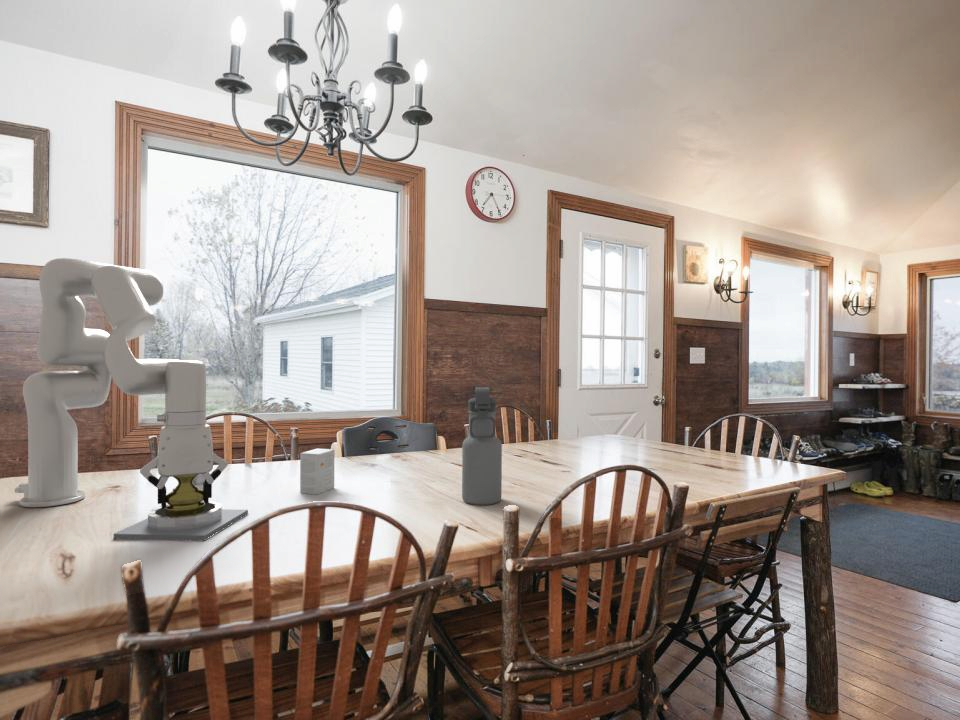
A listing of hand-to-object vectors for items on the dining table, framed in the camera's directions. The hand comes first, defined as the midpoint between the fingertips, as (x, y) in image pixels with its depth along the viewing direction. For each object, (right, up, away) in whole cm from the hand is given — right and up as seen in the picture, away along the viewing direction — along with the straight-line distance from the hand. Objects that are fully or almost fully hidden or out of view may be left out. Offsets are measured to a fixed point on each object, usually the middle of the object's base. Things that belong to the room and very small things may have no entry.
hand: (185, 503), depth 116 cm
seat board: (0, -5, 0) cm, 5 cm away
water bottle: (+62, -5, +21) cm, 66 cm away
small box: (+19, -5, +31) cm, 37 cm away
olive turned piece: (0, -3, 0) cm, 3 cm away
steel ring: (0, -5, 0) cm, 5 cm away
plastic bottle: (-7, -5, +17) cm, 19 cm away
